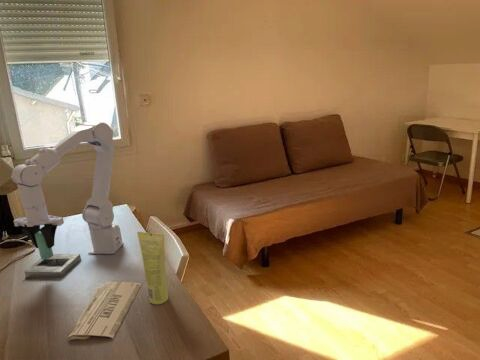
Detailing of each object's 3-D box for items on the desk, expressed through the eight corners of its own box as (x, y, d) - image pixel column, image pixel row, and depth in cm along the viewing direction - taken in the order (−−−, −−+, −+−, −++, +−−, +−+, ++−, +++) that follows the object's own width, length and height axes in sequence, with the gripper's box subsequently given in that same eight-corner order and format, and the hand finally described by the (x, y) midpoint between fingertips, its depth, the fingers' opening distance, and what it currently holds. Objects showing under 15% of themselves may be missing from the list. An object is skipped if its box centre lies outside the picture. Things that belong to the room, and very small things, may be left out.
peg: (55, 253, 110) (49, 229, 108) (48, 259, 107) (42, 235, 105) (45, 253, 111) (39, 230, 108) (38, 259, 108) (31, 235, 105)
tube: (168, 291, 99) (159, 226, 93) (173, 300, 95) (164, 233, 89) (147, 297, 97) (137, 231, 91) (151, 307, 92) (141, 239, 87)
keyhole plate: (81, 259, 120) (79, 254, 119) (61, 277, 109) (60, 272, 109) (48, 259, 121) (46, 253, 121) (25, 277, 111) (24, 271, 110)
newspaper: (100, 287, 104) (99, 280, 103) (142, 290, 104) (141, 282, 103) (59, 344, 82) (58, 335, 81) (111, 348, 82) (111, 339, 81)
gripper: (1, 210, 101) (14, 253, 106) (48, 209, 100) (59, 253, 104) (19, 201, 108) (30, 242, 112) (63, 200, 106) (73, 241, 110)
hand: (45, 246), depth 108 cm, fingers closed on peg, 3 cm apart
